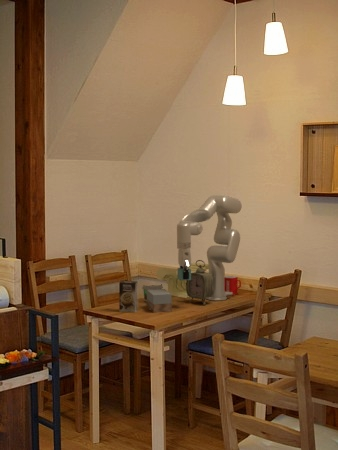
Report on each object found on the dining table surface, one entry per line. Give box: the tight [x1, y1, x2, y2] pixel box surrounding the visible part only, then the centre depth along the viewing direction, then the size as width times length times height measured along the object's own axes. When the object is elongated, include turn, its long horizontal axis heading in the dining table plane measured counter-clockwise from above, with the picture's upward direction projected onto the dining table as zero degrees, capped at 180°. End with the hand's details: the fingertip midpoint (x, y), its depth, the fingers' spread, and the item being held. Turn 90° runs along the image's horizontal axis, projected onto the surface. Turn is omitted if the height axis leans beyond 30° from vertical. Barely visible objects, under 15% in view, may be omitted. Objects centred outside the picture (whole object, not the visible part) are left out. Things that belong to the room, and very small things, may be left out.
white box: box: [147, 288, 172, 304], centre depth 362 cm, size 10×16×5 cm, turn 14°
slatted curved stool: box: [156, 262, 209, 299], centre depth 404 cm, size 30×16×18 cm, turn 136°
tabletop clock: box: [185, 259, 214, 306], centre depth 378 cm, size 14×9×25 cm, turn 45°
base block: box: [146, 299, 173, 314], centre depth 363 cm, size 10×16×5 cm, turn 16°
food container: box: [141, 283, 164, 304], centre depth 381 cm, size 12×6×10 cm, turn 112°
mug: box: [225, 275, 242, 296], centre depth 405 cm, size 12×8×11 cm
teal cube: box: [176, 267, 191, 281], centre depth 364 cm, size 6×6×6 cm
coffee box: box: [118, 280, 138, 313], centre depth 358 cm, size 9×6×16 cm
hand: (184, 277), depth 365 cm, fingers closed on teal cube, 6 cm apart
